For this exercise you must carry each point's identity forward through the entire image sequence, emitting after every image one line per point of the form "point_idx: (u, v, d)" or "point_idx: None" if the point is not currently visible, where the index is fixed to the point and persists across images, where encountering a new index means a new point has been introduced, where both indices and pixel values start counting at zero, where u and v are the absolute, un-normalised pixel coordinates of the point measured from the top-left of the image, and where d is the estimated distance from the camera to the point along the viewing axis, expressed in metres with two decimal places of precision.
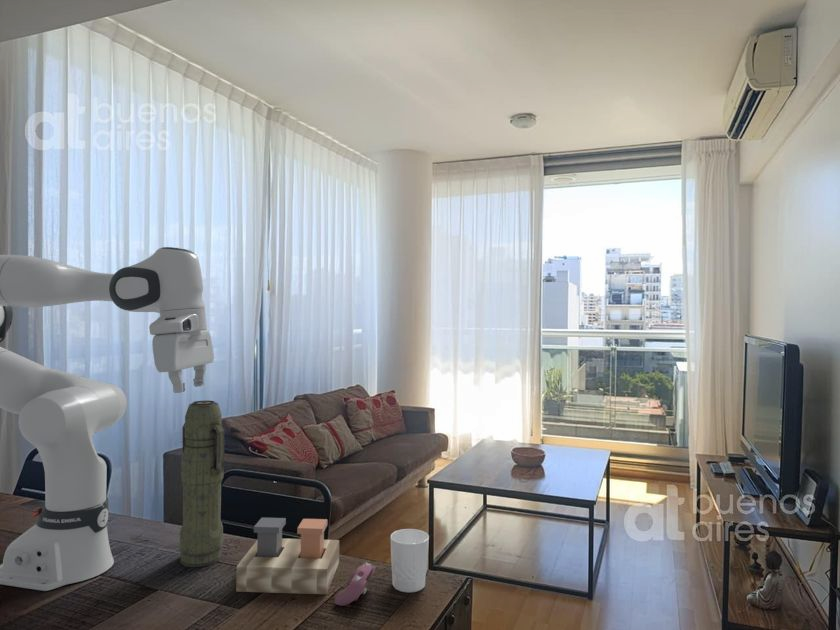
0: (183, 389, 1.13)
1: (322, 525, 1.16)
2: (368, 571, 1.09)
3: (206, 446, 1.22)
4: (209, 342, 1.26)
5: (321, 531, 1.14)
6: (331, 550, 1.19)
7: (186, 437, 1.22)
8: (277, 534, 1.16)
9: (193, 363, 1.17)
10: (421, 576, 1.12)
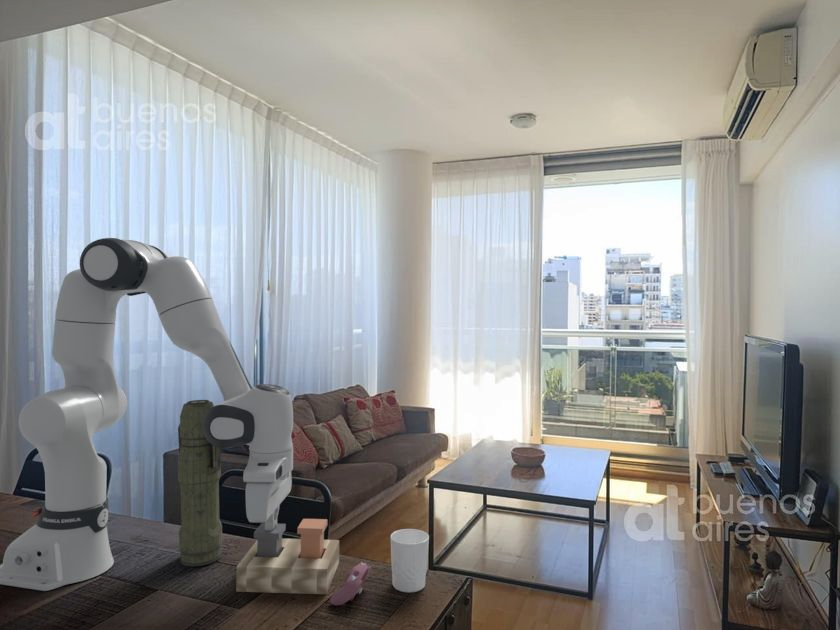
0: (274, 526, 1.17)
1: (322, 525, 1.16)
2: (363, 571, 1.09)
3: (202, 445, 1.22)
4: (290, 472, 1.25)
5: (321, 531, 1.14)
6: (331, 550, 1.19)
7: (182, 437, 1.22)
8: (277, 540, 1.16)
9: (278, 504, 1.16)
10: (421, 576, 1.12)
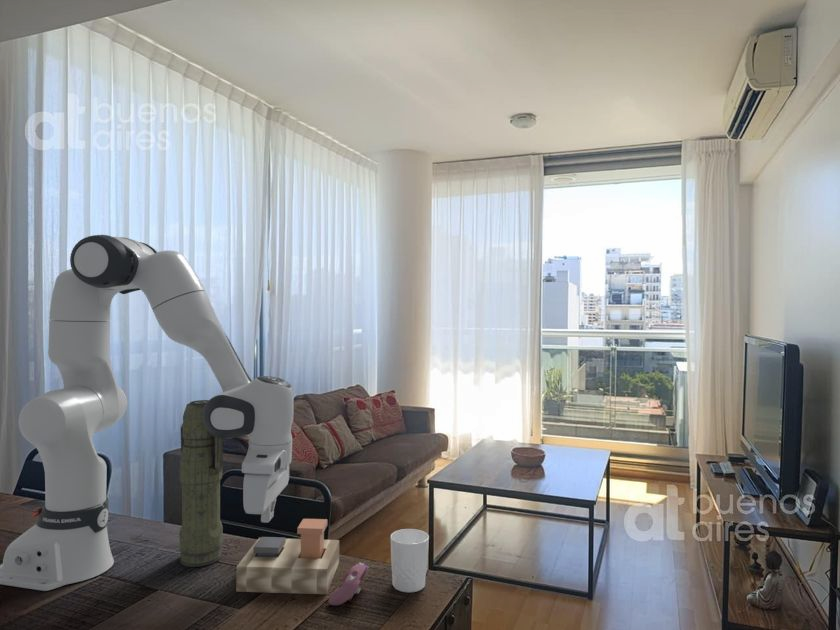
0: (270, 519, 1.17)
1: (322, 525, 1.16)
2: (362, 571, 1.09)
3: (204, 446, 1.22)
4: (287, 465, 1.25)
5: (321, 531, 1.14)
6: (331, 550, 1.19)
7: (184, 437, 1.22)
8: (277, 554, 1.16)
9: (275, 496, 1.16)
10: (421, 576, 1.12)
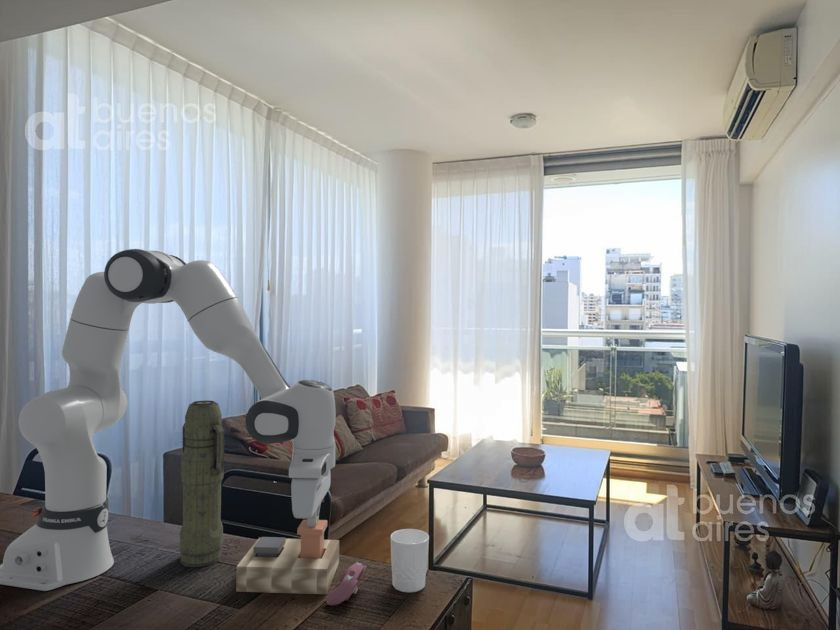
0: (316, 523, 1.16)
1: (322, 526, 1.16)
2: (359, 570, 1.09)
3: (206, 446, 1.22)
4: (329, 469, 1.25)
5: (321, 532, 1.14)
6: (331, 550, 1.19)
7: (186, 437, 1.22)
8: (277, 554, 1.16)
9: (321, 500, 1.16)
10: (421, 576, 1.12)
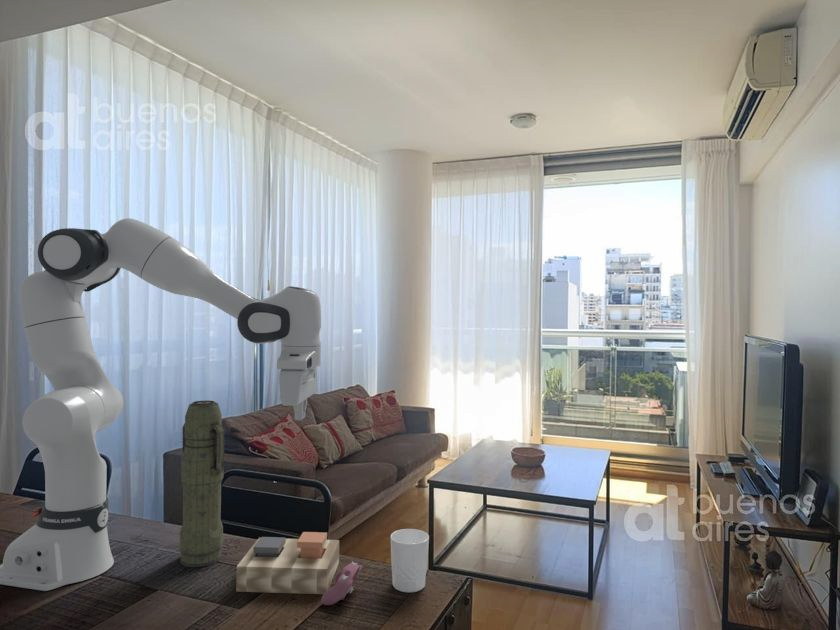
0: (303, 417, 1.26)
1: (322, 539, 1.16)
2: (354, 570, 1.09)
3: (206, 446, 1.22)
4: (316, 374, 1.35)
5: (321, 545, 1.14)
6: (331, 550, 1.19)
7: (186, 437, 1.22)
8: (277, 554, 1.16)
9: (307, 396, 1.26)
10: (421, 576, 1.12)
